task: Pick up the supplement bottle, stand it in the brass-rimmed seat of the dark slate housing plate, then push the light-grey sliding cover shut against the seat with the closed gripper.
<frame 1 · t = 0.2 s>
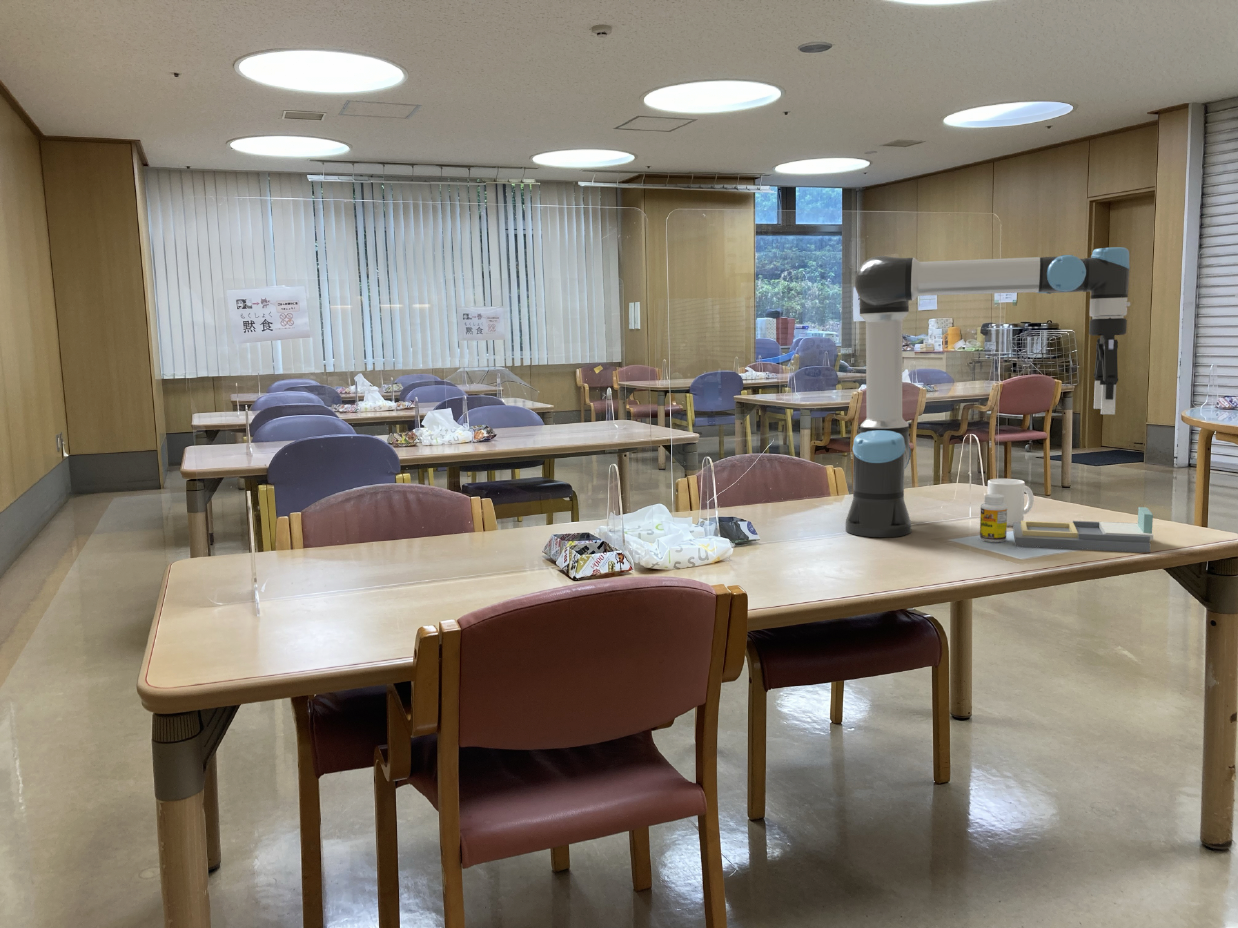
hand: (1103, 411, 217), 28 cm above the table, fingers open, 13 cm apart
housing: (1072, 540, 210), on the table
mug: (1011, 523, 231), on the table
supplement bottle: (992, 541, 213), on the table
cover: (1125, 521, 206), point 5 cm above the table, slide at 5.0 cm
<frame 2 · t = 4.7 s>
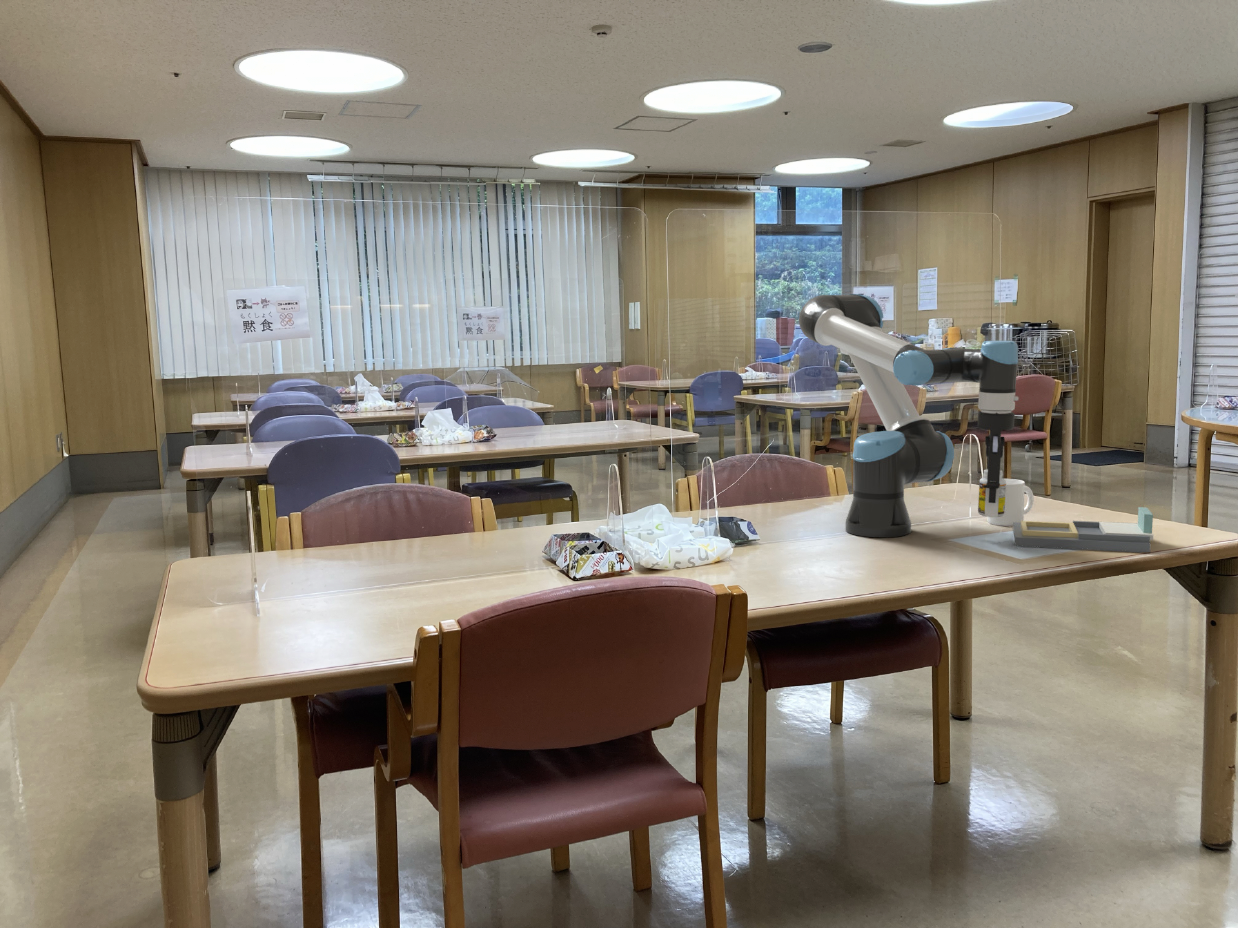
hand: (990, 513, 213), 6 cm above the table, fingers closed on supplement bottle, 6 cm apart
supplement bottle: (990, 515, 213), point 5 cm above the table, touching gripper
everything else where it was.
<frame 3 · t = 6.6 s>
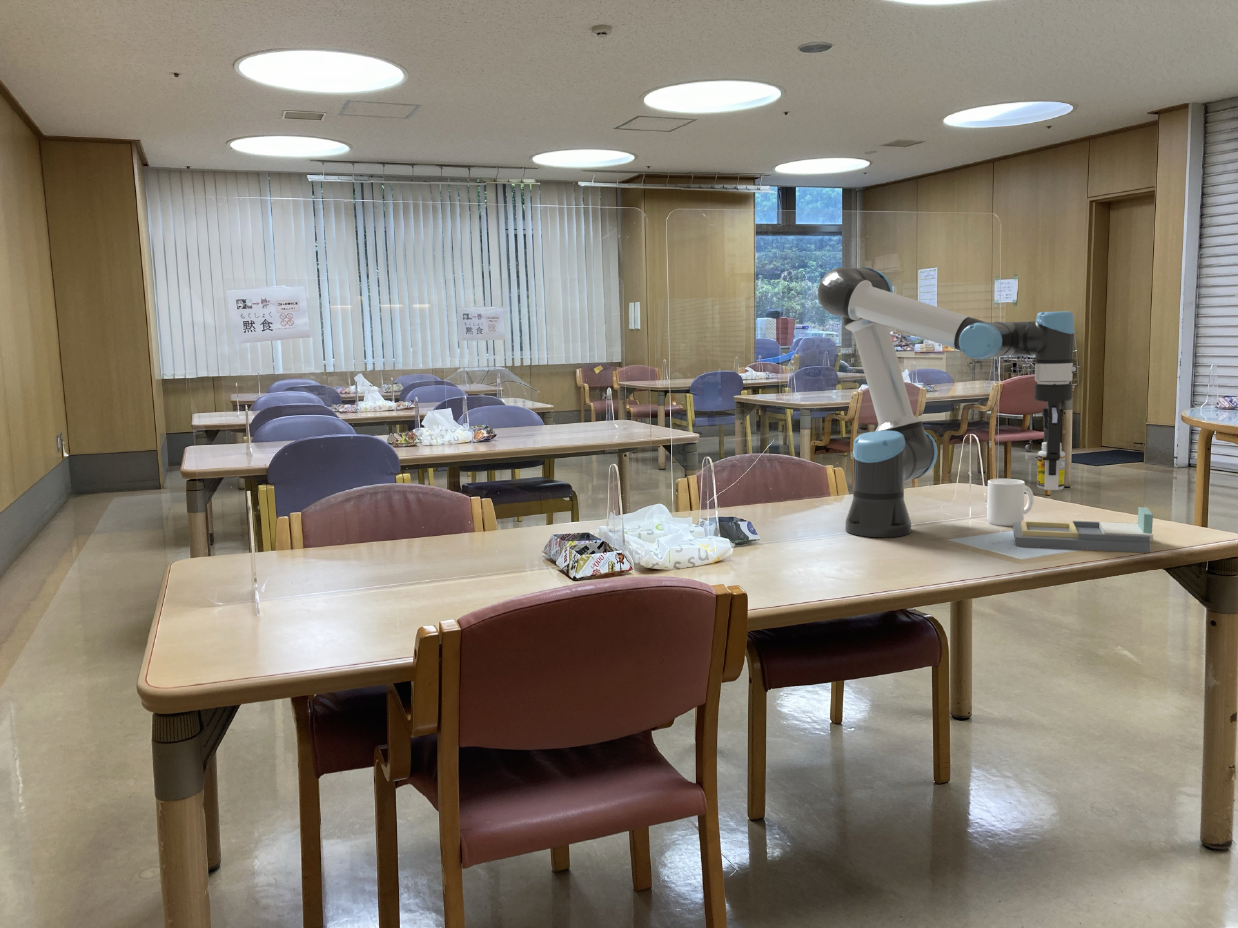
hand: (1050, 487, 210), 12 cm above the table, fingers closed on supplement bottle, 6 cm apart
supplement bottle: (1050, 489, 210), point 12 cm above the table, touching gripper
everything else where it was.
when the fingers open (3 cm above the table, at t = 8.4 s): supplement bottle stays where it is, resting on housing.
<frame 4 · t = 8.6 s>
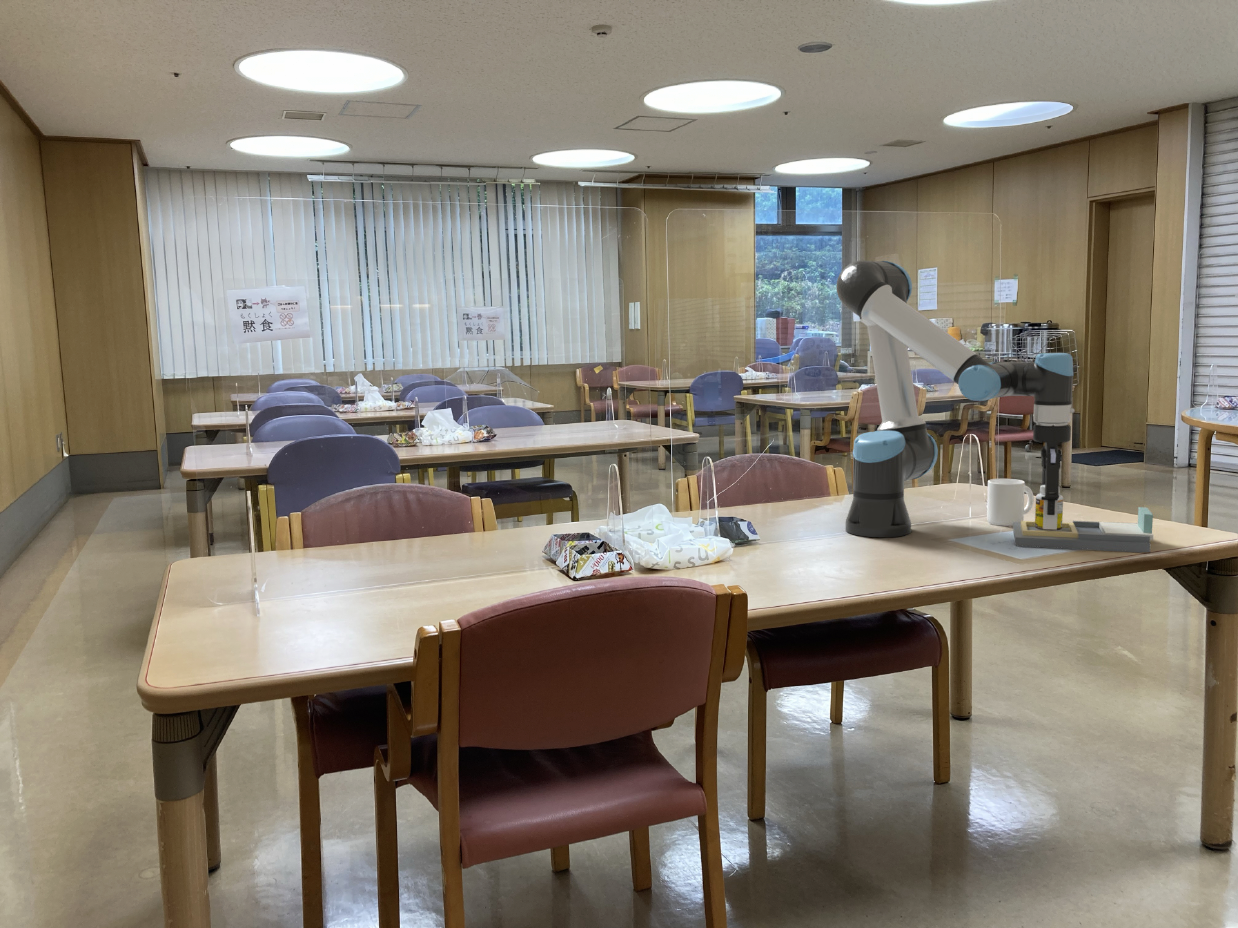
hand: (1048, 524, 211), 3 cm above the table, fingers open, 8 cm apart
supplement bottle: (1048, 531, 212), point 2 cm above the table, touching housing
everything else where it was.
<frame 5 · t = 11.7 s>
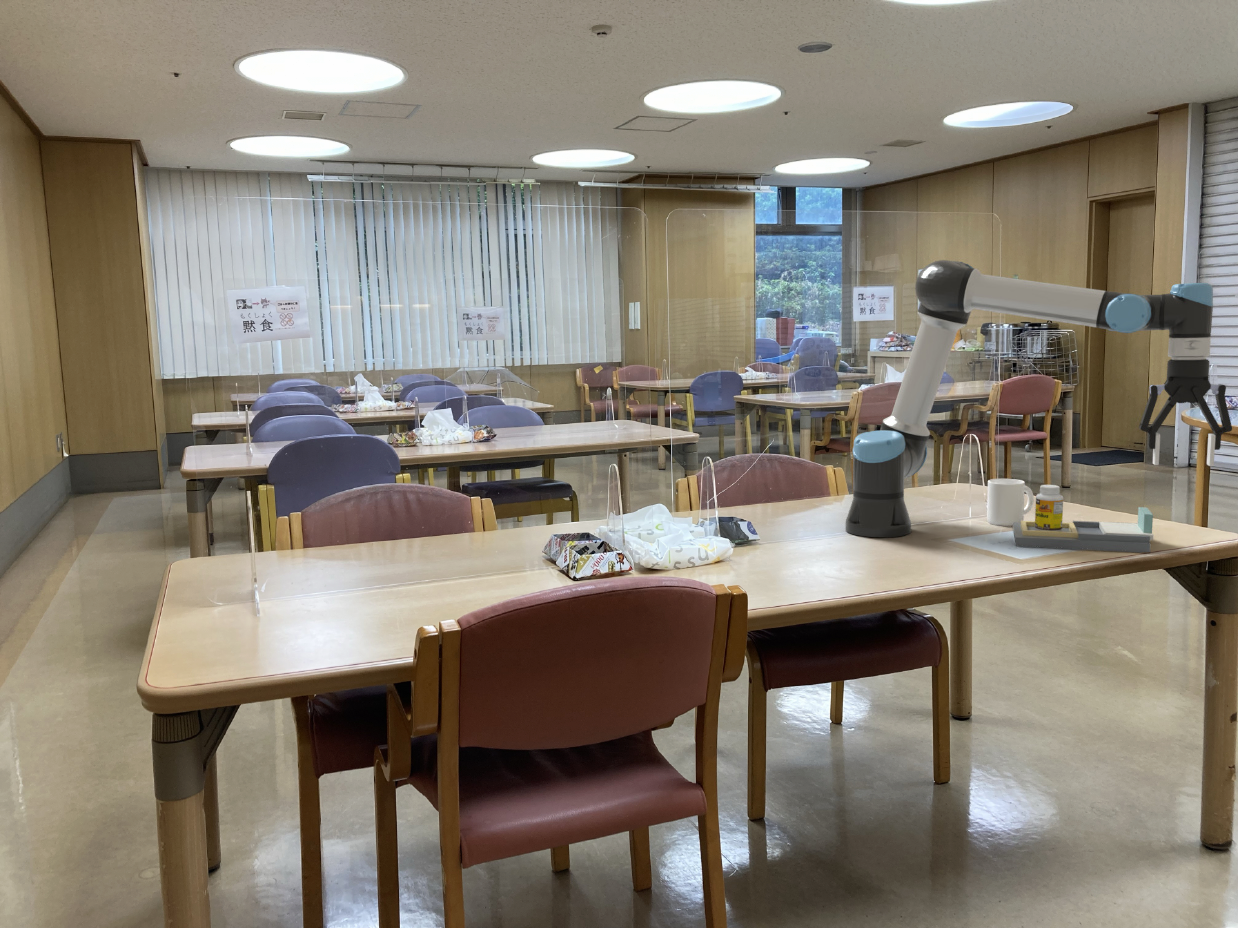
hand: (1182, 464, 200), 18 cm above the table, fingers open, 9 cm apart
nothing on the table moved.
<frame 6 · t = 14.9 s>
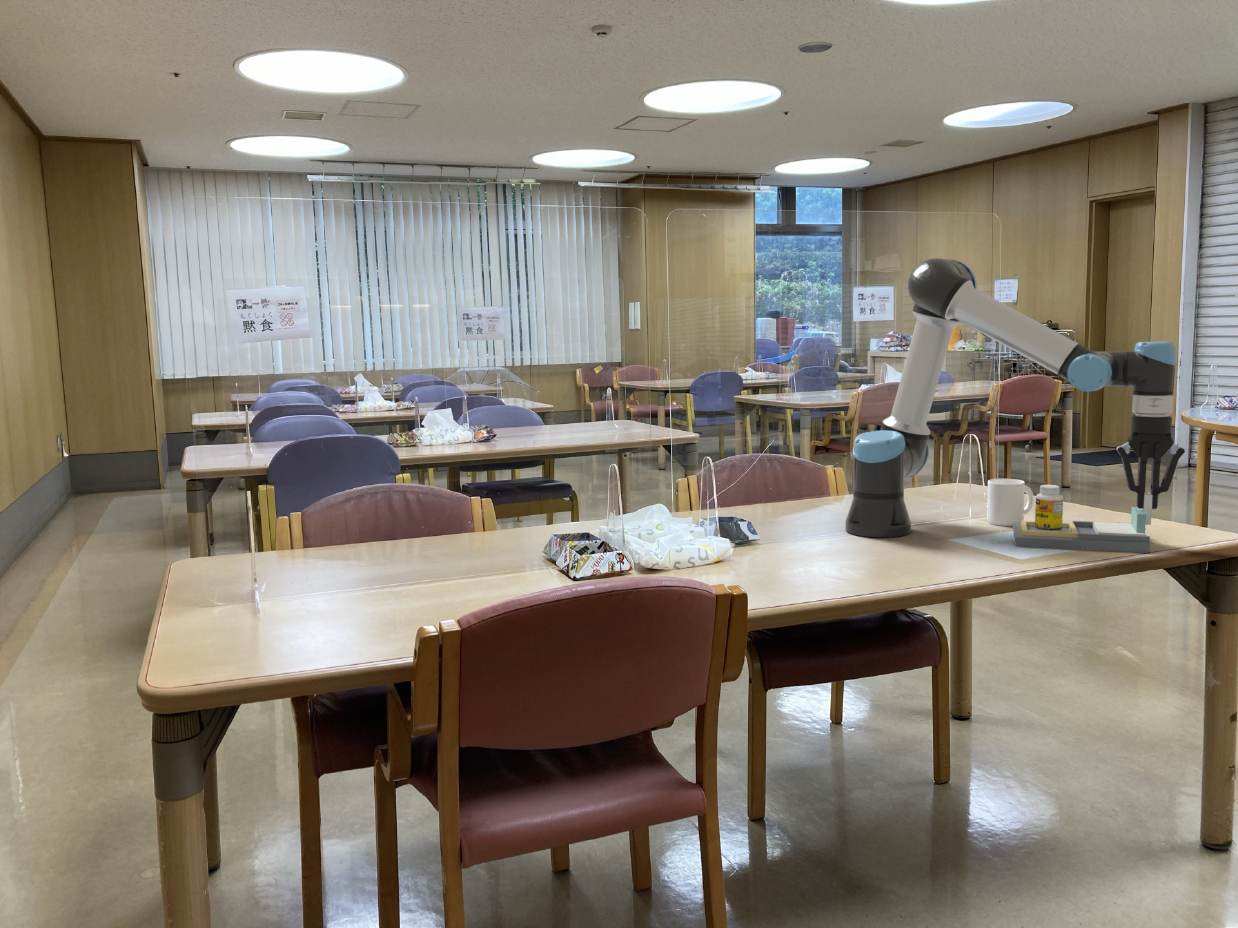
hand: (1145, 523, 204), 5 cm above the table, fingers closed
cover: (1118, 521, 206), point 5 cm above the table, slide at 3.7 cm, touching gripper
everything else where it was.
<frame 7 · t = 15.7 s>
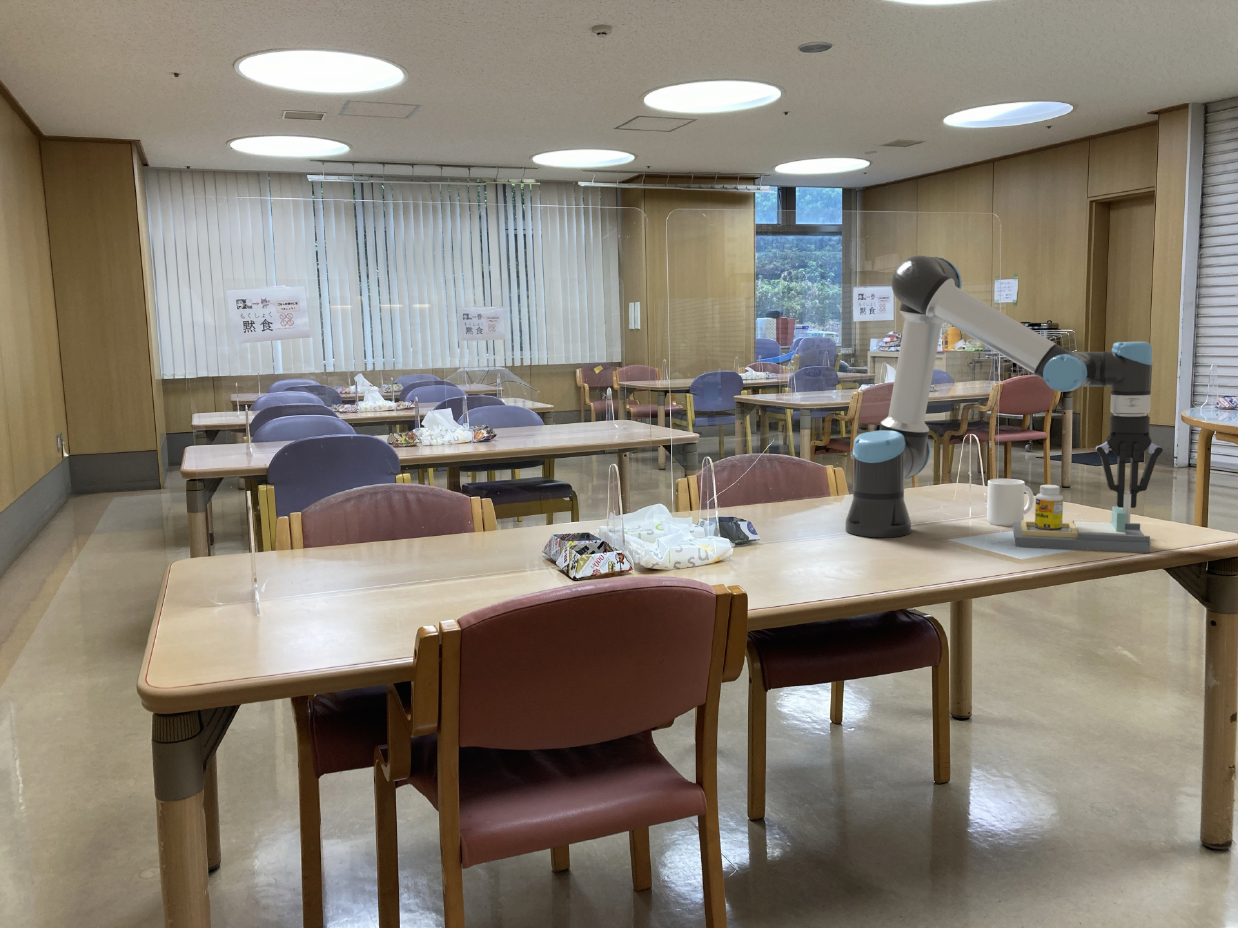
hand: (1125, 522, 206), 5 cm above the table, fingers closed
cover: (1099, 520, 208), point 5 cm above the table, slide at -0.2 cm, touching gripper
everything else where it was.
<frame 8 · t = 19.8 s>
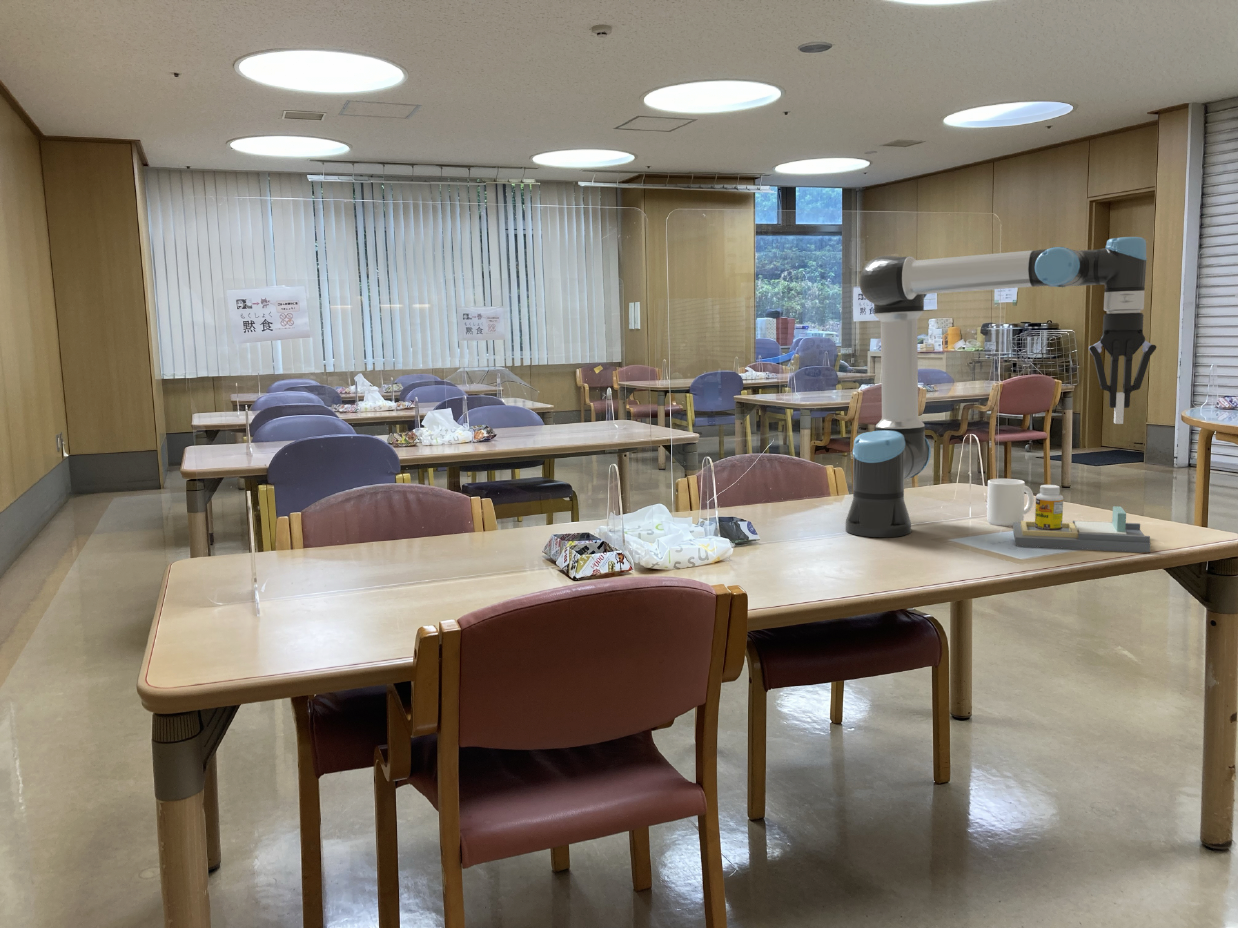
hand: (1118, 423, 203), 26 cm above the table, fingers closed
cover: (1100, 520, 208), point 5 cm above the table, slide at 0.0 cm
everything else where it was.
at the end: supplement bottle 0.0 cm from the target spot on the housing, point 1.8 cm above the housing's base; supplement bottle tilted 0°; cover slide at 0.0 cm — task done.
